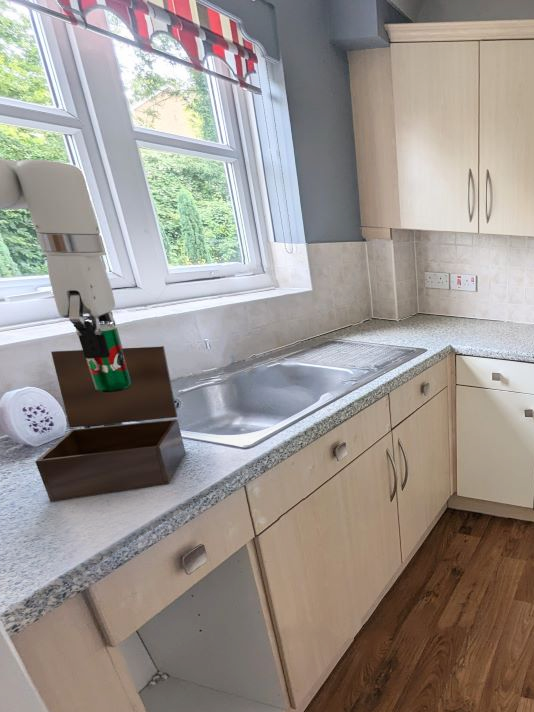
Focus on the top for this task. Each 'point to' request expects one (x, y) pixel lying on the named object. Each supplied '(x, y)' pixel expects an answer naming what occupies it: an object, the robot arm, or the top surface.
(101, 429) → the chest
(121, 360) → the soda can
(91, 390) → the lid
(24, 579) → the top surface
